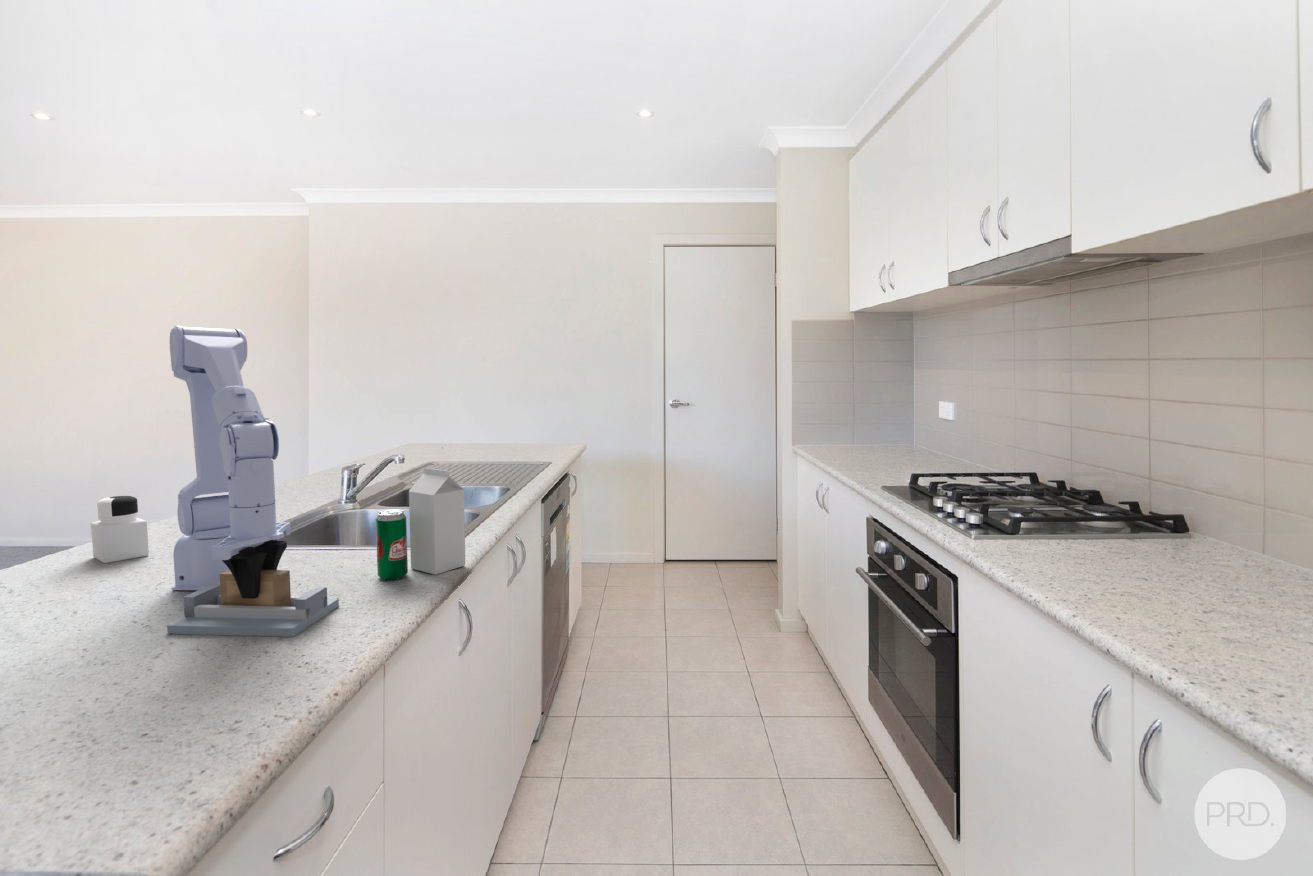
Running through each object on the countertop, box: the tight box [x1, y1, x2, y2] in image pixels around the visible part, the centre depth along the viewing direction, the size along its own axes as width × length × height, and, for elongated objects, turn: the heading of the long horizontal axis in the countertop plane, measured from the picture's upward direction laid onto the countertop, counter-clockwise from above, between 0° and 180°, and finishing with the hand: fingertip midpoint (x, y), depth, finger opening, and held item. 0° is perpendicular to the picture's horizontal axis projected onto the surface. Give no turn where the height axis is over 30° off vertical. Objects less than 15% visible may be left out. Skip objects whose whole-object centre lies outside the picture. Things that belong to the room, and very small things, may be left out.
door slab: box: [219, 569, 292, 607], centre depth 94 cm, size 9×2×6 cm, turn 88°
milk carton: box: [408, 467, 466, 575], centre depth 120 cm, size 7×7×19 cm
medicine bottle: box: [90, 495, 150, 564], centre depth 125 cm, size 7×7×12 cm
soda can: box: [375, 508, 409, 581], centre depth 114 cm, size 5×5×12 cm
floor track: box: [166, 584, 340, 638], centre depth 94 cm, size 18×12×4 cm, turn 88°
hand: (257, 594), depth 94 cm, fingers closed on door slab, 2 cm apart
